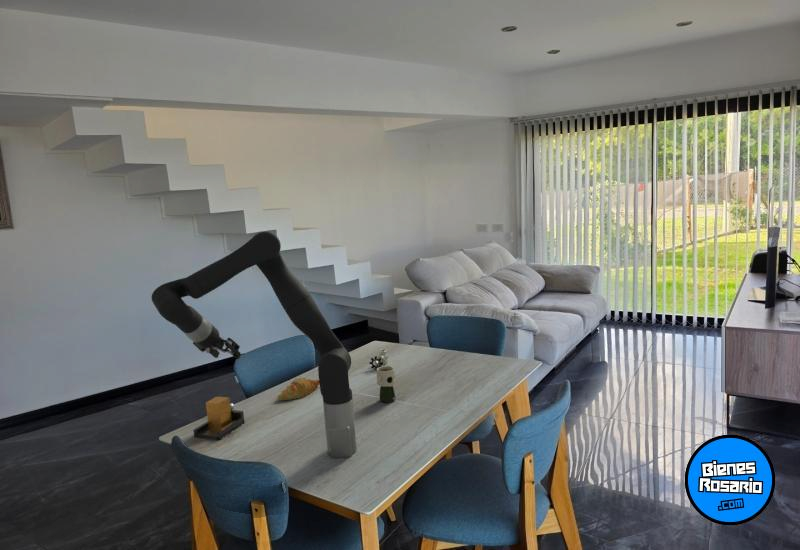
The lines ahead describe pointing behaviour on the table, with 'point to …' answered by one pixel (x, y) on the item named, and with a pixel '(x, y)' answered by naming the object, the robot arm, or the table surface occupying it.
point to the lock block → (218, 413)
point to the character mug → (386, 382)
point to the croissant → (298, 389)
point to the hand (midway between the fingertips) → (228, 355)
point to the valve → (380, 359)
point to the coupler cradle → (207, 433)
